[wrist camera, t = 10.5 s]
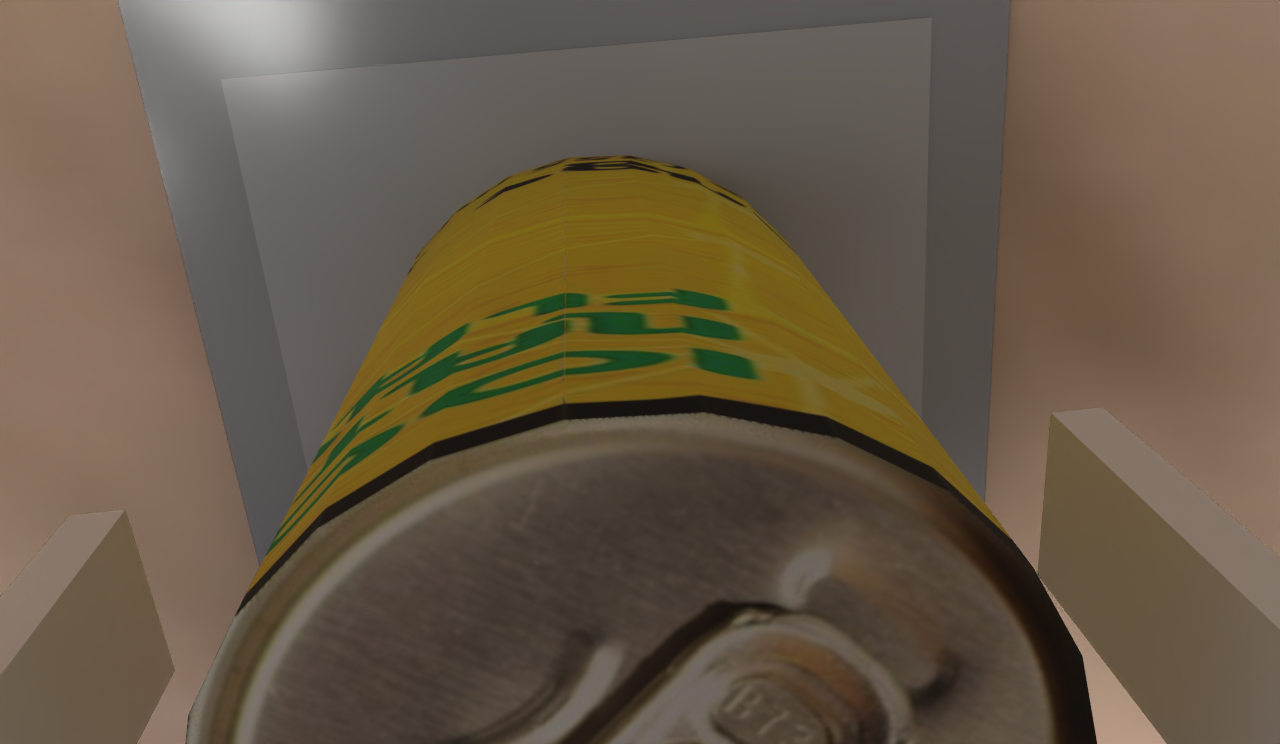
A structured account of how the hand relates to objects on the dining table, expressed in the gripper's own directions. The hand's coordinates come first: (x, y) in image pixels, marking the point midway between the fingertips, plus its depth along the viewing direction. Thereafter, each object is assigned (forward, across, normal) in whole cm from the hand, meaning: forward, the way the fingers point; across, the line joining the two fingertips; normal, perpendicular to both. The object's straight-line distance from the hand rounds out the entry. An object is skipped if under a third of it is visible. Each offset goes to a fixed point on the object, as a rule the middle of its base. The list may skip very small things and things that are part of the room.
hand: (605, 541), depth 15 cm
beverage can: (+7, 0, 0) cm, 7 cm away
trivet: (+8, 0, 0) cm, 8 cm away
